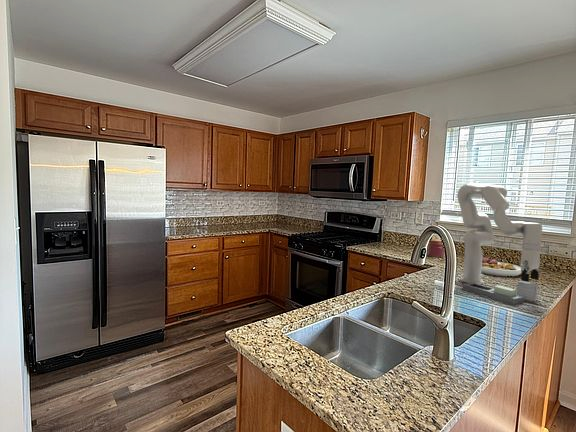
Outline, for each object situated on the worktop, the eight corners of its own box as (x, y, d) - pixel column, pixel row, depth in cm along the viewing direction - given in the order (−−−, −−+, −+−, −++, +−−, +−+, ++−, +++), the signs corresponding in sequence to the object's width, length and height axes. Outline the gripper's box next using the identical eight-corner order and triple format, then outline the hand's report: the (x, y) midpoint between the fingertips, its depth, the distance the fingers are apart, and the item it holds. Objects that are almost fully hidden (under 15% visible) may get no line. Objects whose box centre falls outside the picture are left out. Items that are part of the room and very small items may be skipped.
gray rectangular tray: (472, 287, 179) (472, 282, 179) (524, 302, 157) (524, 296, 156) (462, 289, 175) (462, 284, 174) (514, 305, 152) (515, 298, 152)
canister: (435, 258, 262) (437, 237, 261) (424, 255, 274) (425, 235, 273) (447, 257, 267) (448, 236, 265) (435, 254, 279) (436, 234, 278)
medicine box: (536, 300, 161) (538, 283, 160) (535, 302, 157) (536, 285, 157) (518, 296, 166) (519, 280, 165) (516, 298, 163) (517, 281, 162)
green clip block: (498, 296, 165) (499, 285, 165) (515, 301, 158) (516, 289, 158) (493, 297, 163) (494, 286, 162) (510, 302, 156) (511, 290, 155)
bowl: (532, 278, 205) (533, 266, 204) (486, 277, 205) (487, 265, 205) (502, 267, 235) (503, 257, 234) (461, 266, 235) (462, 256, 235)
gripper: (531, 245, 167) (529, 276, 168) (514, 246, 159) (512, 280, 159) (548, 247, 160) (546, 280, 161) (531, 249, 152) (529, 283, 153)
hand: (529, 280), depth 160 cm, fingers open, 9 cm apart
